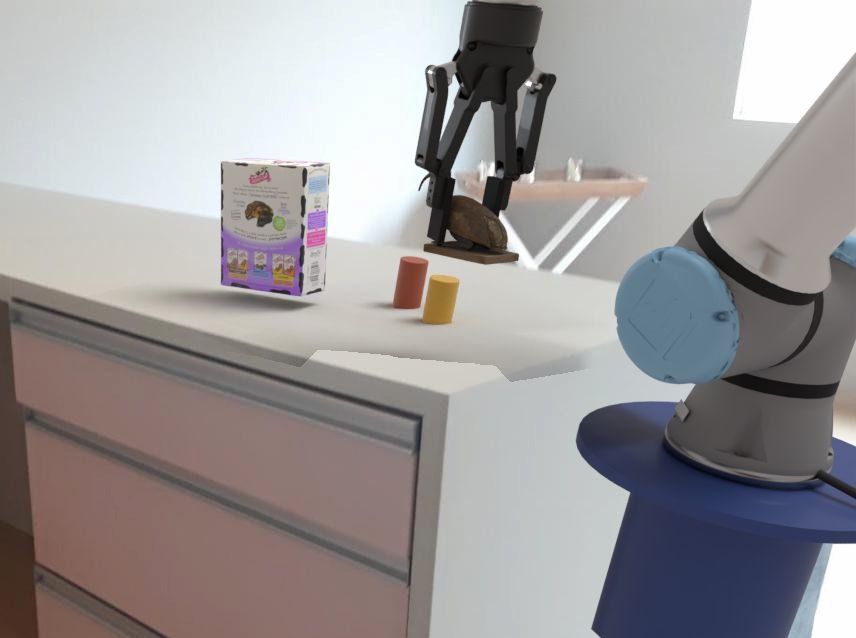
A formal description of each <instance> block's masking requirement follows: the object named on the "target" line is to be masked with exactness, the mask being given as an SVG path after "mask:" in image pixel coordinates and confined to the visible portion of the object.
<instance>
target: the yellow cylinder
mask: <svg viewBox="0 0 856 638" xmlns="http://www.w3.org/2000/svg"><path fill="white" fill-rule="evenodd" d="M428 279H429V281H428V285H427V291H426V295H425V302H424V307H423V312H422V318H421V322H423V323H425V324H427V325H429V324H430V325H448V324H452V323H453V318H454V312H455V307H456V303H457V297H458V292H459V286H460V283H461V281H460V279H459V278H457V277H455V276H451V275H445V274H433V275H430V276H429V278H428Z"/></svg>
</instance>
